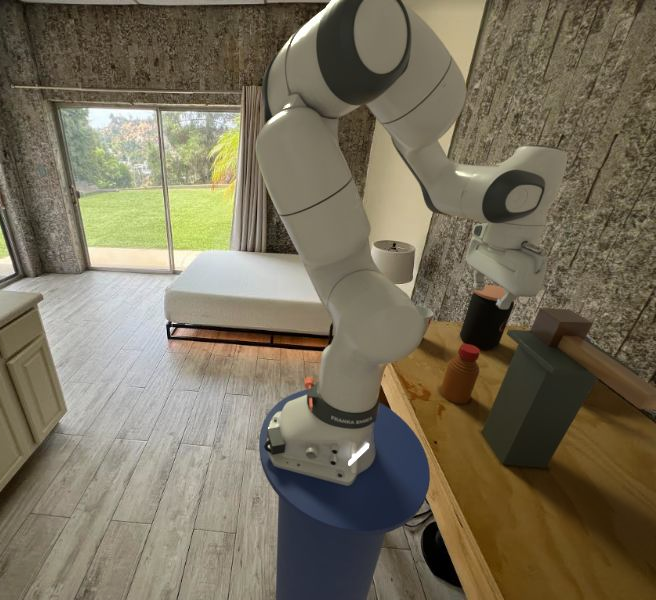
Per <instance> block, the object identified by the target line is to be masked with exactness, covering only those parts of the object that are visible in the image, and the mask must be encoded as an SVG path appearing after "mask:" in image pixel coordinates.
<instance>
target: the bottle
mask: <svg viewBox="0 0 656 600" xmlns="http://www.w3.org/2000/svg"><path fill="white" fill-rule="evenodd" d="M479 374H480V366H479V364H478V362H477V360H476V361H469V360H465V359H463V358H461V357H460V356H459V355H456V356H454V357H452V358H451V359H450V360H449V362H448V365H447V367H446V370H445V374H444V376H443V381H442V384H441V387H440V389H439V390H440V394H441V395H442V397H443V398H445V399H446V400H448V401H450V402H452V403H455V404H460V405H463V404H467V403H468V402H469V401H470V399H471V397H472V393H473V391H474V388H475V385H476V382H477V379H478V377H479Z"/></svg>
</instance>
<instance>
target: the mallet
mask: <svg viewBox="0 0 656 600" xmlns="http://www.w3.org/2000/svg"><path fill="white" fill-rule="evenodd" d="M593 325H594V322H592V321H590V320H589V319H587V318H586V317H584V316H582V315H581V314H579V313H577V312H576V311H574V310H572V309H570V308H544V307H540V308H539V309H538V311H537V314H536V316H535V318H534V320H533V323H532V325H531V327H530V329H529V331H530V332H531V333H532V334H533V335H535V336H536V337H537V338H538V339H540V340H541V341H542V342H544V343H545V344H546V345H547V346H549V347H558V348H559V349H560V350H562V351H563V352H564V353H566V354H567V355H568V356H570V357H571V358H572V359H574V360H575V361H576V362H578V363H579V364H580V365H582V366H583V367H584V368H586V369H587V370H588V371H590V372H591V373H592V374H594V375H595V376H596V377H598V378H597V379H599V380H600V381H601V382H603V383H604V384H606V386H607V387H609V388H611V389H612V390H614V391H615V392H616V393H617V394H619V395H620V396H621V397H623V398H624V399H625V400H627V401H628V402H629V403H631V404H632V405H633V406H634V407H636V408H637V409H638V410H649V411H650V410H651V411H656V386H654V385H652V384H651V383H649V382H647V380H645V379H643V378H642V377H640V375H638V376H637V375H636V374H634V373H633V372H631V371H630V370H628V369H627V368H625V367H624V366H622V365H621V364H619V363H618V362H616V361H615V360H613V359H612V358H610V357H609V356H607V355H606V354H604V353H602V352H601V351H599V350H598V349H596V348H595V347H593V346H592V345H590V344H589V343H587V342H586V341H584V340H585V338H586V336H587V335H589V332H590V330H591V328H592V326H593Z"/></svg>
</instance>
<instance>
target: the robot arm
mask: <svg viewBox="0 0 656 600" xmlns="http://www.w3.org/2000/svg"><path fill="white" fill-rule="evenodd" d="M467 88H468V87H467V84H466V81H465V77H464V75H463V72H462V70H461V69H460V66H459V65H458V64H457V62H456V60H455V58H454V57H453V56H452V54H451V53H450V51H449V49H448V48H447V47H446V45H445V44H444V43H443V41H442V40H441V39H440V37H439V36H438V34H437V33H436V32H435V31H434V29H432V27H431V26H430V25H429V24H428V23H427V22H426V21H425V20H424V19H423V18H422V17H421V16H420V15H419V14H418V13H417V12H416V11H415V10H413V9H412V8H411V7H410V6H408V5H407V4H405V3H404V2H403V1H402V0H330V2H329V3H327V5H326V7H325V8H323V9H322V10H321V11H319V12H318V13H317V14H316V15H314V16H313V17H312V18H311V19H310V20H309V21H307V22H305V23H303V24H302V25H301V26H300V27H298V29H296V31H295V32H294V33H293V34H292V35H291V36H290V38H288V40H287V41H286V43H284V45H283V47H281V49H280V50H279V51H278V52H277V53H276V54H275V55H274V56H273V57H272V58H271V60H270V62H269V64H268V65H267V68H266V70H265V72H264V75H263V80H262V84H261V100H262V106H263V110H264V122H265V123H264V125H263V126H262V128H261V129H260V130H259V133H258V135H257V137H256V140H255V147H254V148H255V155H256V160H257V162H258V166H259V169H260V172H261V176H262V179H263V181H264V185H265V187H266V189H267V192H268V195H269V196H270V199H271V202H272V203H273V206H274V208H275V210H276V212H277V214H278V216H279V218H280V220H281V222H282V224H283V226H284V228H285V230H286V232H287V234H288V236H289V238H290V240H291V242H292V244H293V246H294V248H295V250H296V252H297V253H298V255H299V258H300V259H301V262H302V265H303V266H304V268H305V271H306V274H307V275H308V277H309V280H310V282H311V284H312V286H313V288H314V290H315V293H316V294H317V297H318V299H319V301H320V303H321V304H322V306H323V308H324V309H325V310H326V312H327V314H328V315H329V317H330V319H331V324H332V327H333V337H332V341H331V343H330V344H328V346H326V347H325V348H324V349H323V351H322V353H321V355H320V365H319V376H318V381H317V382H316V383H315V379H314V378H313V377H312V376H306V377H305V378H304V388H305V390H307V389H308V391H307V395H304V396H302V397H299V398H297V399H294V400H291V401H289V402H287V403H286V404H285V406H284V407H283V409H282V411H280V412H277V413H276V414H275V415H274V416H273V418H272V419H271V421H270V424H269V428H268V429H267V442H266V443H265V445H264V448H265V450H266V451H268V455H269V458H270V460H271V462H272V464H273V465H274V466H275V467H278V468H282V469H285V470H289V471H293V472H296V473H300V474H304V475H308V476H311V477H315V478H319V479H323V480H326V481H330V482H334V483H338V484H341V485H345V486H349V485H351V484H352V483H353V482H354V480H355V479H356V477H357V475H358V474H359V473H361V472H363V471H364V470H366V469H367V468H368V467H370V466H371V464H372V463H373V461H374V459H375V455H376V449H375V444H374V422H375V421H376V418H377V415H378V411H379V402H380V401H381V400H380V399H381V398H380V396H379V395H380V391H381V385H382V381H383V377H384V373H385V370H386V368H387V366H388V365H389V364H393V363H397V362H400V361H402V360H404V359H406V358H407V357H409V356H411V355H412V354H413V353H414V352H415V351H416V350H417V349H418V347H419V346H420V344H421V342H422V341H423V338H424V336H425V335H424V332H425V324H424V320H423V317H422V316H421V314H420V312H419V311H418V309H417V308H416V306H417V305H416V304H415V303H414V301H413V300H412V299H411V297H410V296H409V295H408V294H407V293H406V292H405V291H404V290H403V289H402V288H400V287H399V286H398V285H397V284H395V282H393V281H392V280H390V279H389V278H388V277H387V276H386V275H385V274H383V272H382V271H381V270H380V269H379V267H378V266H377V264H376V263H375V260H374V259H373V256H372V251H371V245H370V235H371V231H372V226H371V223H370V220H369V218H368V215H367V213H366V209H365V207H364V204H363V202H362V199H361V196H360V194H359V191H358V188H357V186H356V182H355V180H354V177H353V175H352V172H351V170H350V167H349V165H348V163H347V161H346V158H345V156H344V154H343V152H342V149H341V148H340V147H341V146H340V143H339V135H338V133H339V132H338V131H339V130H338V129H339V121H340V118H341V117H344V116H347V115H348V114H349V113H351V112H353V111H355V110H357V109H358V108H359V107H362V106H366V107H367V108H368V110H369V111H370V113H371V114H372V115H373V116H374V118H375V119H376V120H377V121H378V122H379V124H380V125H381V126H382V127H383V128H384V129H385V131H386V132H387V133H388V134H389V136H390V139H391V142H392V144H393V147H394V148H395V150H396V152H397V154H398V156H399V157H400V158H401V161H403V163H404V164H405V166H406V167H407V169H408V170H409V172H411V174H412V176H413V177H414V178H415V180H416V181H417V183H418V185H419V187H420V189H421V193H422V198H423V201H424V203H425V206H426V207H427V209H428V210H429V211H431V212H432V213H434V214H437V215H444V216H453V217H457V218H462V219H467V220H470V221H476V222H481V223H478V224H477V223H476V224H474V225H473V227H472V230H471V234H472V235H473V236H472V237H470V238H471V239H470V240H469V244H468V247H467V252H466V255H465V261H466V264H467V265H469V266H470V267H471V268H473V269H474V270H473V284H472V288H473V290H474V289H476V290H480V291H482V290H484V287H485V285H487V283H486V282H485V278H488V279H489V280H491V281H492V282H494V283H495V284H497V285H499V287H502V288H505V290H504V294H505V295H504V296H503V297H502V298H498V300H497V303H496V306H498V307H499V308H500V309H509V307H510V304H511V302H512V301H514V302H515V301H516V300H517V299H518V298H519V297H521V298H533V297H536V296H537V295H538V294H540V292H541V290H542V286H543V284H544V280H545V277H546V272H547V269H548V261H547V260H548V256H546V253H545V249H544V248H543V247H541V246H538V245H539V242H540V239H541V236H542V234H543V232H544V229H545V227H546V224H547V217H548V212H549V210H550V208H551V207H552V205H553V204H554V203H555V201H556V199H557V196H558V194H559V191H560V189H561V185H562V183H563V181H564V180H563V179H564V176H565V173H566V168H567V164H568V152H567V151H565V150H564V149H562V148H560V147H557V146H552V145H543V144H526V145H522V146H519V147H517V148H516V149H515V151H514V152H513V154H512V156H510V157H509V158H507V159H506V160H504V161H502V162H499V163H496V164H494V165H475V164H465V163H459V162H455V161H453V160H451V159H449V157H448V156H447V154H446V152H445V150H444V149H443V147H442V145H441V143H440V142H439V140H440V139H441V138H442V137H443V136H444V135H445V134H447V132H448V131H449V130H450V129H451V128H452V127H453V126H454V124H455V123H456V121H457V120H458V119H459V117H460V115H461V113H462V111H463V109H464V107H465V106H464V105H465V103H466V99H467V93H468V89H467ZM515 299H516V300H515ZM380 403H381V402H380ZM338 476H341V477H338Z"/></svg>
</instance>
